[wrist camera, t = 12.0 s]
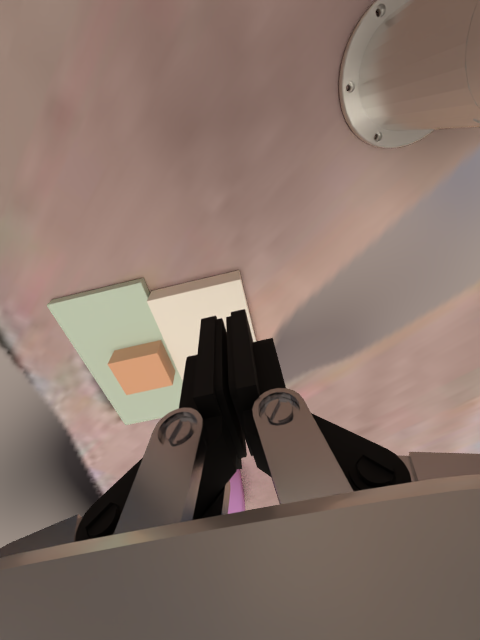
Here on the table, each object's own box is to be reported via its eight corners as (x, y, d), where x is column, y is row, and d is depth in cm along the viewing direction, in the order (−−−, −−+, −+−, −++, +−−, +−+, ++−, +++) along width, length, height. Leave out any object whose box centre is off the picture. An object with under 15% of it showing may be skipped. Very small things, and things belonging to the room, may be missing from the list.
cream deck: (239, 270, 39) (240, 279, 36) (266, 380, 49) (268, 393, 46) (151, 290, 39) (146, 301, 37) (196, 395, 50) (194, 409, 47)
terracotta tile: (161, 339, 42) (157, 353, 39) (175, 371, 45) (172, 385, 42) (114, 350, 42) (107, 364, 40) (131, 380, 45) (126, 395, 43)
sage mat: (143, 277, 38) (140, 282, 37) (197, 403, 51) (197, 410, 50) (52, 299, 39) (46, 305, 38) (127, 418, 52) (125, 425, 50)
